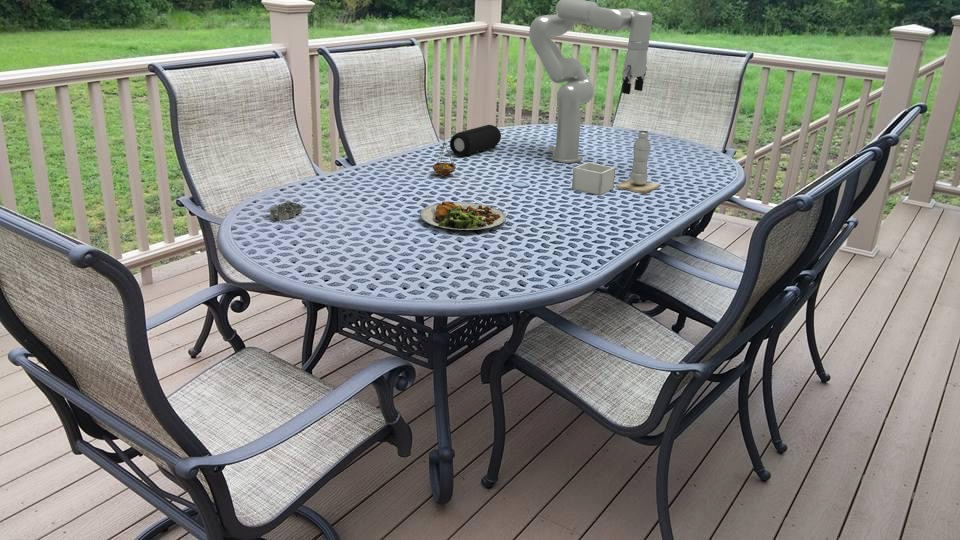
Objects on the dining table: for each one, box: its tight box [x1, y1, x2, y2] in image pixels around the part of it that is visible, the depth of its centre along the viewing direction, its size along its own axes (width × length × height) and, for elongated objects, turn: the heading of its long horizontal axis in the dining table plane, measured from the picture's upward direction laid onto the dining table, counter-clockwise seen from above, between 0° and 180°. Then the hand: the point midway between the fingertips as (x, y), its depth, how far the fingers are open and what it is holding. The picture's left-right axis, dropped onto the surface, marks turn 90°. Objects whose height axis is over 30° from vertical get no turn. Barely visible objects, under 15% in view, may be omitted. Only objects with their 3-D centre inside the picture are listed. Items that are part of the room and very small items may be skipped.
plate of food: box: [419, 200, 507, 231], centre depth 257 cm, size 28×28×6 cm
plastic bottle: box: [629, 130, 652, 185], centre depth 294 cm, size 6×7×20 cm
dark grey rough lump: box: [267, 199, 305, 222], centre depth 255 cm, size 11×8×4 cm
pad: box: [615, 178, 660, 195], centre depth 298 cm, size 12×12×1 cm
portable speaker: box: [449, 124, 502, 156], centre depth 339 cm, size 26×10×10 cm, turn 143°
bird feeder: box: [432, 99, 457, 176], centre depth 299 cm, size 9×9×30 cm
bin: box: [571, 161, 616, 196], centre depth 293 cm, size 12×11×8 cm
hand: (632, 91), depth 304 cm, fingers open, 9 cm apart
